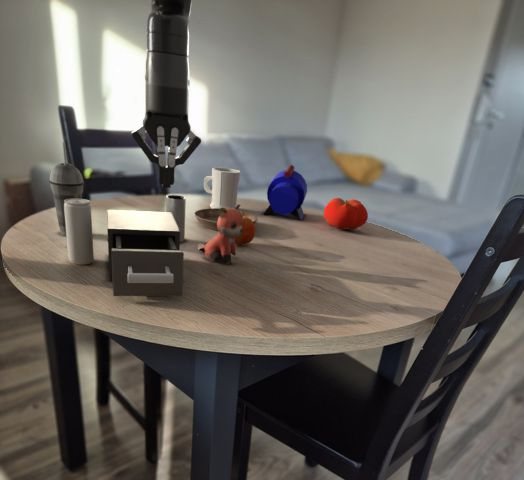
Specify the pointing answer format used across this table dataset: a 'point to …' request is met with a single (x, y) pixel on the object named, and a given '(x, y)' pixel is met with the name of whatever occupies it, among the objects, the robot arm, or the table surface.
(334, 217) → the tomato
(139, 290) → the drawer
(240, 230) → the stuffed fox
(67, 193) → the beverage cup
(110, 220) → the cabinet
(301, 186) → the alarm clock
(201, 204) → the table surface
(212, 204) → the cup
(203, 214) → the plant saucer
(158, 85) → the robot arm
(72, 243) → the beverage can
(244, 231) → the fruit
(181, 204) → the grey hollow cylinder
